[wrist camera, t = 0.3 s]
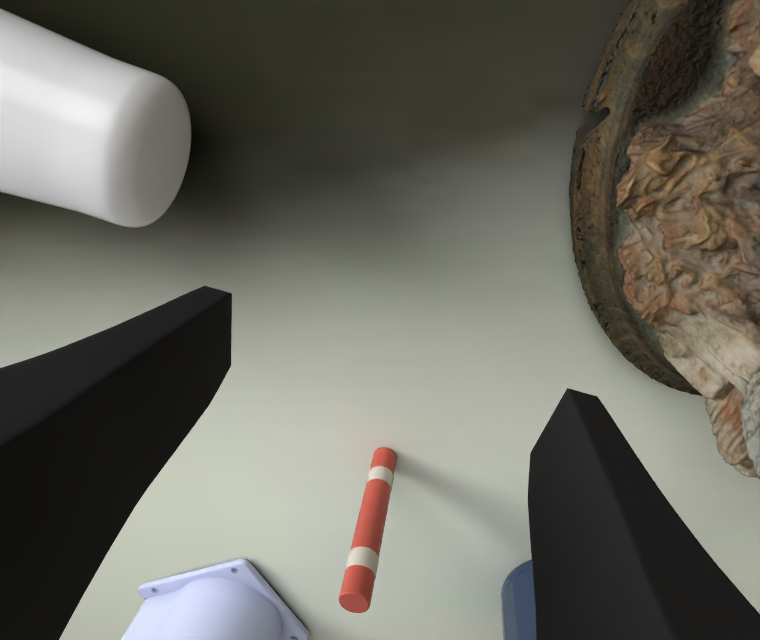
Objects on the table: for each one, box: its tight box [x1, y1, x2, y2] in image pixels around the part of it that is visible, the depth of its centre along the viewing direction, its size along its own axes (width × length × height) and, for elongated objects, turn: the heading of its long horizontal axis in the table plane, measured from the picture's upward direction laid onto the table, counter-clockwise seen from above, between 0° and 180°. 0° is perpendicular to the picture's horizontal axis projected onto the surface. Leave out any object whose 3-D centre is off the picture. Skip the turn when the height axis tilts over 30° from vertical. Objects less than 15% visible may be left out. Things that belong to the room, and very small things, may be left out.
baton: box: [339, 448, 397, 613], centre depth 22 cm, size 1×1×8 cm
